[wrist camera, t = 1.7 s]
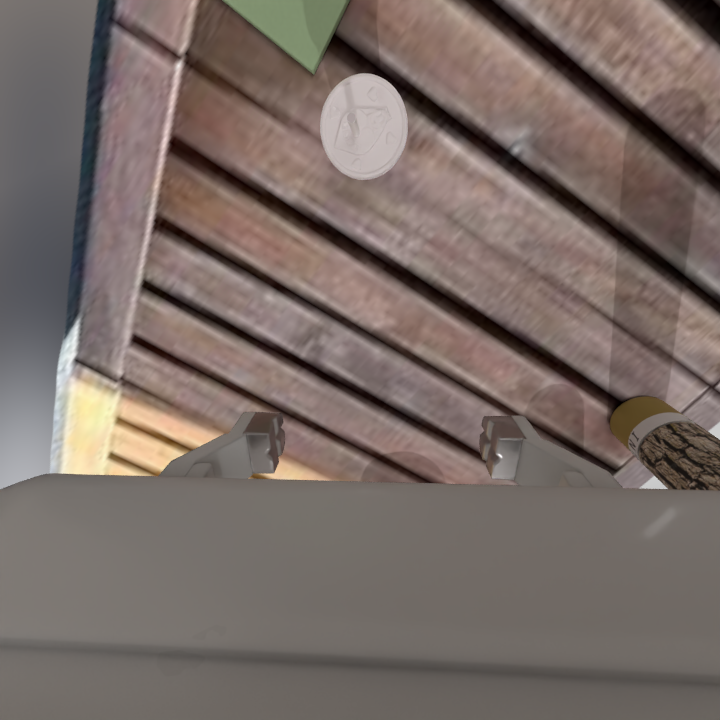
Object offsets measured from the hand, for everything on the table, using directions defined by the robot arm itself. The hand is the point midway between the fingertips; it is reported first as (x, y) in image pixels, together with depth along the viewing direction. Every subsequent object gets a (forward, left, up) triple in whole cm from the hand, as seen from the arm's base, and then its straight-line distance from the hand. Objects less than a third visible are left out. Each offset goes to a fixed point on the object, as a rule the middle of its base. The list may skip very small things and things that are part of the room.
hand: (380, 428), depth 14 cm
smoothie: (-10, -9, -27) cm, 30 cm away
